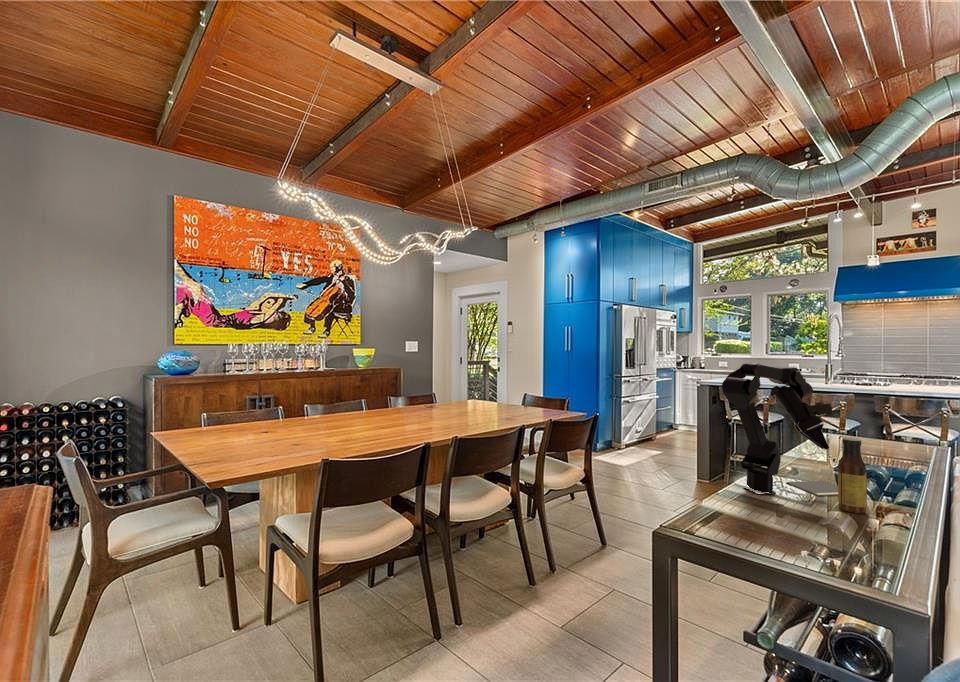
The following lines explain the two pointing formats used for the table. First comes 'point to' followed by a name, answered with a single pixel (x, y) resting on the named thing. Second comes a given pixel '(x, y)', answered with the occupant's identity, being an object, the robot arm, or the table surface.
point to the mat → (817, 487)
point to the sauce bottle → (852, 478)
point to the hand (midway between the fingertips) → (825, 448)
